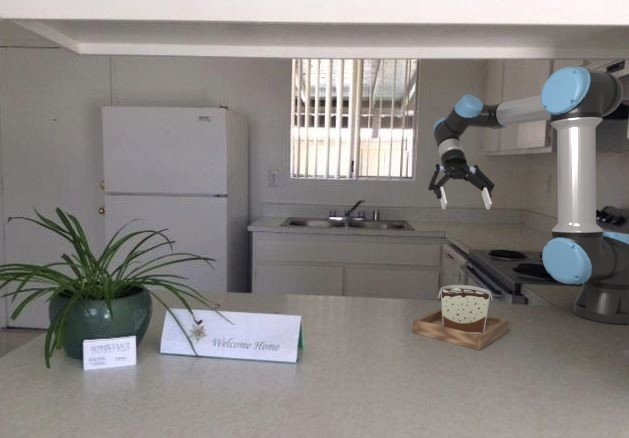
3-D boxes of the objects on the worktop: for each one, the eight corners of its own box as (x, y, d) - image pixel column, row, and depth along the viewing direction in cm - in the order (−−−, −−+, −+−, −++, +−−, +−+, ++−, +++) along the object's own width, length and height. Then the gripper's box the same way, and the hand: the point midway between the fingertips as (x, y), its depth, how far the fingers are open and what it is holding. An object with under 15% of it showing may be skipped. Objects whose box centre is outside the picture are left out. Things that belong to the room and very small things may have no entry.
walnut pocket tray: (507, 332, 120) (508, 320, 120) (480, 350, 108) (480, 337, 107) (444, 317, 131) (445, 306, 130) (412, 332, 118) (413, 320, 118)
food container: (482, 325, 122) (485, 285, 121) (490, 334, 116) (493, 291, 115) (431, 323, 122) (433, 283, 121) (436, 332, 116) (438, 290, 115)
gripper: (485, 165, 166) (503, 214, 153) (412, 163, 164) (423, 213, 151) (493, 148, 160) (512, 198, 147) (417, 146, 158) (429, 197, 145)
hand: (467, 206), depth 149 cm, fingers open, 13 cm apart
